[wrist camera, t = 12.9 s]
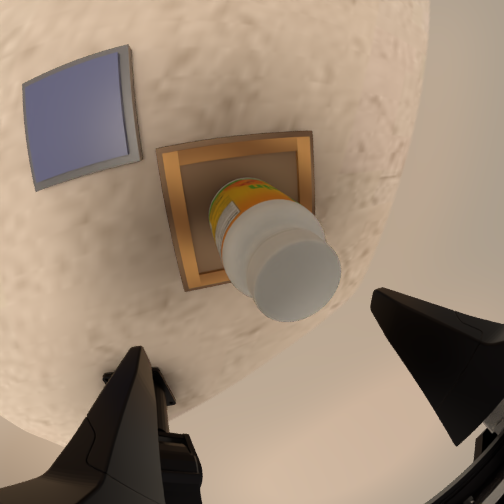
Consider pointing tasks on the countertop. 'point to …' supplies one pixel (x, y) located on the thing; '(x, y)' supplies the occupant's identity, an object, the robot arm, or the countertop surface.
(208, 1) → the countertop surface
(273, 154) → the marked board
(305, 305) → the supplement bottle
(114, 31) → the countertop surface
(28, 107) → the ink pad
